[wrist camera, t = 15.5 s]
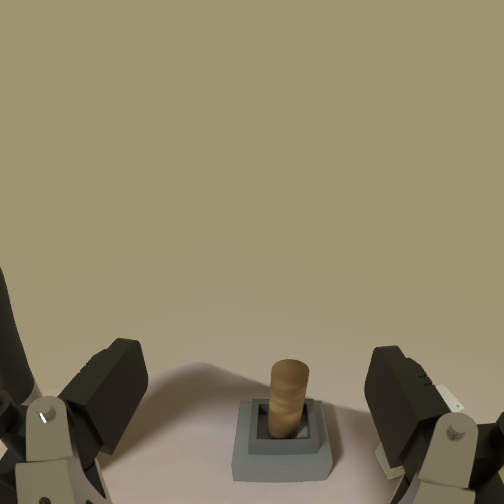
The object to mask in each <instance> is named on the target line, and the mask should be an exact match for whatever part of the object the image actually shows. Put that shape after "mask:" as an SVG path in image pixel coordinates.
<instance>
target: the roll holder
mask: <svg viewBox="0 0 504 504" xmlns="http://www.w3.org/2000/svg"><path fill="white" fill-rule="evenodd" d="M269 400H270V399H252V401H240V408H239V415H238V422H237V429H236V437H235V444H234V451H233V458H232V464H231V465H232V473H233V481H245V482H303V481H318V480H326V479H327V477H328V475H329V472H330V470H331V467H332V465H333V460H332V454H331V448H330V442H329V437H328V431H327V426H326V421H325V415H324V410H323V405H322V401H313V399H304V405H303V410H302V415H301V420H300V425H299V430H298V435H297V437H296V438H295V439H281V440H273V439H270V438H269V436H268V434H267V425H268V413H269Z"/></svg>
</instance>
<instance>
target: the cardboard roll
mask: <svg viewBox="0 0 504 504" xmlns="http://www.w3.org/2000/svg"><path fill="white" fill-rule="evenodd" d="M308 376H309V368H308V366H307V365H306V364H304V363H303V362H301V361H298V360H291V359H287V360H281V361H279V362H277V363H275V364H274V365H273V367H272V373H271V387H270V400H269V413H268V425H267V434H268V436H269V438H270V439H273V440H281V439H295V438H296V437H297V435H298V430H299V425H300V420H301V415H302V410H303V405H304V399H305V394H306V387H307V382H308Z"/></svg>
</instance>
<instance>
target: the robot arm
mask: <svg viewBox="0 0 504 504" xmlns="http://www.w3.org/2000/svg"><path fill="white" fill-rule="evenodd" d="M147 386H148V374H147V370H146V366H145V362H144V357H143V353H142V349H141V345H140V343H139V341H137V340H130V339H123V338H117V339H116V340H115V341H114V342H113V343H112V344H111V345H110V346H109V348H108V349H104V350H102V351H101V352H99V353H97V354H95V355H94V356H93V357H92V358H91V359H90V360H89V361H88V362H87V363H86V366H84V367H83V368H82V369H81V370H80V373H78V374H77V375H76V376H75V377H74V378H73V379H72V380H71V382H70V383H69V384H68V385H67V386H66V387H65V388H64V390H63V391H62V392H61V393H60V394H59V395H58V397H54V396H45V397H43V396H42V394H41V392H40V390H39V388H38V386H37V384H36V382H35V379H34V377H33V375H32V373H31V371H30V368H29V365H28V362H27V358H26V355H25V352H24V349H23V346H22V343H21V340H20V337H19V334H18V331H17V328H16V324H15V321H14V317H13V313H12V308H11V304H10V299H9V295H8V290H7V286H6V283H5V279H4V275H3V273H2V270H1V268H0V439H1V441H2V442H3V443H4V445H5V446H6V447H7V448H8V450H7V451H6V453H5V454H4V456H3V457H2V458H1V460H0V504H113V503H112V501H111V498H110V496H109V493H108V490H107V487H106V484H105V481H104V478H103V475H102V472H101V469H100V465H99V462H98V459H97V458H96V456H97V454H98V452H99V451H101V452H104V453H107V454H110V455H112V454H113V452H114V450H115V448H116V446H117V444H118V442H119V440H120V438H121V436H122V435H123V433H124V431H125V429H126V427H127V425H128V423H129V421H130V420H131V418H132V416H133V414H134V412H135V410H136V408H137V407H138V405H139V403H140V401H141V399H142V397H143V396H144V394H145V392H146V390H147ZM364 391H365V398H366V401H367V404H368V406H369V409H370V412H371V414H372V417H373V420H374V423H375V425H376V428H377V431H378V434H379V437H380V440H381V442H382V445H383V448H384V451H385V454H386V457H387V460H388V463H389V466H390V469H392V468H396V467H400V466H403V468H404V471H405V472H404V473H403V475H402V476H401V478H400V480H399V482H398V484H397V487H396V488H395V490H394V492H393V494H392V496H391V498H390V500H389V502H388V504H504V484H503V481H502V479H501V477H500V475H499V473H498V472H499V471H500V470H501V469H502V467H503V466H504V412H503V413H502V414H501V415H500V417H499V418H498V420H497V421H496V423H490V424H478V425H476V423H475V422H474V420H473V419H472V418H470V417H469V416H468V415H465V414H463V413H458V412H451V410H450V408H449V407H448V405H447V404H446V402H445V401H444V399H443V398H442V396H441V395H440V393H439V392H438V390H437V389H436V387H435V386H434V385H432V381H431V380H430V378H429V377H427V374H426V372H425V371H424V370H423V368H422V367H421V365H419V364H418V363H416V362H415V361H414V360H412V359H411V358H406V357H405V356H404V354H403V353H402V352H401V350H400V349H399V347H398V346H396V345H395V346H384V347H376V348H375V349H374V351H373V354H372V358H371V363H370V366H369V370H368V373H367V377H366V381H365V387H364Z"/></svg>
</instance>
